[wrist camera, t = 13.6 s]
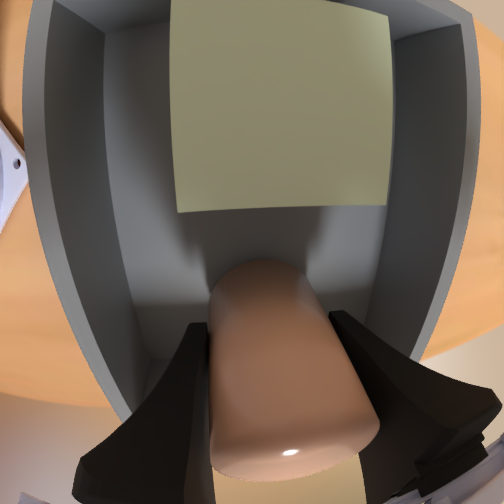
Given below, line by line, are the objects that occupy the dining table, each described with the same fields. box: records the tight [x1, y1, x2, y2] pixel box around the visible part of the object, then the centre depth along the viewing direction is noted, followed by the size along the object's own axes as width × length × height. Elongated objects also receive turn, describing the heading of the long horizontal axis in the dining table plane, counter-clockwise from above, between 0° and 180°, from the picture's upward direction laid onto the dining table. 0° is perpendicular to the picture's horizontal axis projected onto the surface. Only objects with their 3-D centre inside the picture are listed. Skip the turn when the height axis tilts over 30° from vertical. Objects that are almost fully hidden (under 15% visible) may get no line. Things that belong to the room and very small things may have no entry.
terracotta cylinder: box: [208, 260, 380, 482], centre depth 9 cm, size 5×5×7 cm
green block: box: [170, 0, 393, 213], centre depth 8 cm, size 5×5×5 cm
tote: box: [22, 0, 481, 423], centre depth 10 cm, size 18×14×5 cm
